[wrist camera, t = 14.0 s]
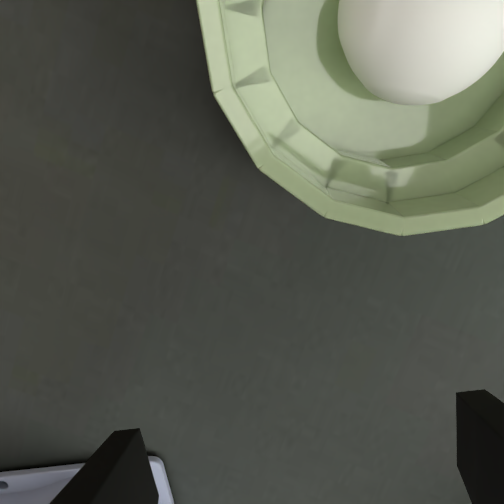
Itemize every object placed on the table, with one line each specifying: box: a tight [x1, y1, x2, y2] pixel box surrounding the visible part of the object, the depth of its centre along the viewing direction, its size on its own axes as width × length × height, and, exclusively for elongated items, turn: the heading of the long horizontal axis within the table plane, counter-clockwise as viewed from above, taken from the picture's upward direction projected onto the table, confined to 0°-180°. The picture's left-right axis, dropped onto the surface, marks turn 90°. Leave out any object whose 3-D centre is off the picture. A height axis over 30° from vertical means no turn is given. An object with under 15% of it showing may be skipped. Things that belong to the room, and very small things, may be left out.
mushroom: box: [338, 0, 504, 105], centre depth 13 cm, size 5×5×5 cm
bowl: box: [196, 0, 504, 236], centre depth 14 cm, size 12×12×4 cm
